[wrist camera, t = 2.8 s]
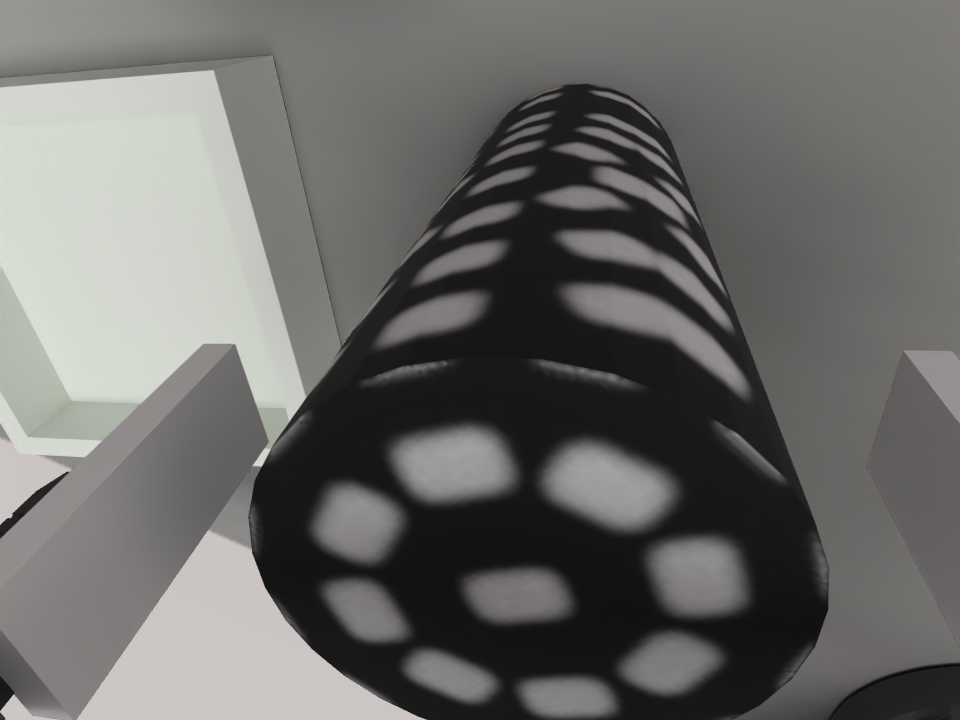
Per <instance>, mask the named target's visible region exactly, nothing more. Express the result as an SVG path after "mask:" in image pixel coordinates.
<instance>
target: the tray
mask: <svg viewBox="0 0 960 720" xmlns="http://www.w3.org/2000/svg"><path fill="white" fill-rule="evenodd" d="M203 344H235V345H236V348H237V351H238V353H239V356H240V359H241V362H242V365H243V368H244V371H245V374H246V377H247V379H248V382H249V385H250V388H251V391H252V394H253V397H254V400H255V403H256V405H257V408H258V411H259V414H260V417H261V420H262V423H263V426H264V429H265V431H266V434H267V437H268V440H269V443H268V444H267V446H266V447H265V448H264V450H263V451H262V453H261V454H260V456H259V457H258V459H257V460H256V461H255V463H254V464H253V466H262V465H263V464H264V462H265V460H266V458H267V456H268V454H269V452H270V450H271V448H272V446H273V444H274V443H275V441H276V440H277V439H278V437H279V436H280V434H281V433H282V431H283V430H284V429H285V427H286V426H287V424H288V423H289V421H290V420H291V419H292V417H293V416H294V414H295V413H296V411H297V410H298V409H299V407H300V406H301V404H302V403H303V402H304V400H305V399H306V397H307V396H308V394H309V393H310V392H311V390H312V389H313V387H314V386H315V384H316V383H317V382H318V380H319V379H320V377H321V376H322V374H323V373H324V372H325V370H326V369H327V367H328V366H329V364H330V363H331V362H332V360H333V359H334V357H335V356H336V355H337V353H338V352H339V350H340V349H341V345H340V340H339V336H338V332H337V328H336V323H335V319H334V315H333V310H332V306H331V302H330V298H329V293H328V289H327V285H326V281H325V276H324V272H323V268H322V264H321V259H320V255H319V251H318V247H317V242H316V238H315V234H314V229H313V225H312V221H311V217H310V212H309V208H308V204H307V200H306V195H305V191H304V187H303V183H302V178H301V174H300V170H299V166H298V161H297V157H296V153H295V148H294V144H293V140H292V136H291V131H290V127H289V123H288V119H287V114H286V110H285V106H284V102H283V97H282V93H281V89H280V85H279V80H278V76H277V72H276V67H275V63H274V59H273V55H268V56H256V57H244V58H232V59H221V60H209V61H197V62H185V63H173V64H161V65H150V66H138V67H126V68H114V69H102V70H90V71H79V72H67V73H55V74H43V75H31V76H19V77H8V78H0V423H1V425H2V426H3V428H4V430H5V431H6V433H7V435H8V436H9V438H10V440H11V441H12V443H13V445H14V446H15V448H16V449H17V451H18V453H19V454H36V455H55V456H73V457H86V456H87V455H88V454H89V453H90V452H91V451H92V450H93V449H94V448H95V447H96V446H97V445H98V444H99V443H101V442H102V441H103V440H104V439H105V438H106V437H107V436H108V435H109V434H110V433H111V432H112V431H113V430H114V429H115V428H116V427H117V426H118V425H119V424H120V423H121V422H122V421H123V420H124V419H126V418H127V417H128V416H129V415H130V414H131V413H132V412H133V411H134V410H135V409H136V408H137V407H138V406H139V405H140V404H141V403H142V402H143V401H144V400H145V399H146V398H147V397H148V396H149V395H151V394H152V393H153V392H154V391H155V390H156V389H157V388H158V387H159V386H160V385H161V384H162V383H163V382H164V381H165V380H166V379H167V378H168V377H169V376H170V375H171V374H172V373H173V372H174V371H176V370H177V369H178V368H179V367H180V366H181V365H182V364H183V363H184V362H185V361H186V360H187V359H188V358H189V357H190V356H191V355H192V354H193V353H194V352H195V351H196V350H197V349H198V348H199V347H200V346H202V345H203Z"/></svg>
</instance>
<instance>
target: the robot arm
mask: <svg viewBox="0 0 960 720" xmlns="http://www.w3.org/2000/svg"><path fill="white" fill-rule="evenodd" d="M268 443H269V440H268V437H267V434H266V431H265V429H264V426H263V423H262V420H261V417H260V414H259V411H258V408H257V405H256V403H255V400H254V397H253V394H252V391H251V388H250V385H249V382H248V379H247V377H246V374H245V371H244V368H243V365H242V362H241V359H240V356H239V353H238V351H237V348H236V345H235V344H203V345H202V346H200V347H199V348H198V349H197V350H196V351H195V352H194V353H193V354H192V355H191V356H190V357H189V358H188V359H187V360H186V361H185V362H184V363H183V364H182V365H181V366H180V367H179V368H178V369H177V370H176V371H174V372H173V373H172V374H171V375H170V376H169V377H168V378H167V379H166V380H165V381H164V382H163V383H162V384H161V385H160V386H159V387H158V388H157V389H156V390H155V391H154V392H153V393H152V394H151V395H149V396H148V397H147V398H146V399H145V400H144V401H143V402H142V403H141V404H140V405H139V406H138V407H137V408H136V409H135V410H134V411H133V412H132V413H131V414H130V415H129V416H128V417H127V418H126V419H124V420H123V421H122V422H121V423H120V424H119V425H118V426H117V427H116V428H115V429H114V430H113V431H112V432H111V433H110V434H109V435H108V436H107V437H106V438H105V439H104V440H103V441H102V442H101V443H99V444H98V445H97V446H96V447H95V448H94V449H93V450H92V451H91V452H90V453H89V454H88V455H87V456H86V457H85V458H84V459H83V460H82V461H81V462H80V463H79V464H78V465H77V466H76V467H75V468H73V469H72V470H71V471H70V472H66V473H64V474H63V475H61V476H60V477H58V478H56V479H55V480H53V481H52V482H50V483H48V484H47V485H45V486H44V487H42V488H40V489H39V490H37V491H36V492H35V493H34V494H33V495H32V496H31V497H30V498H28V499H27V500H26V501H25V502H24V503H23V504H22V505H21V506H20V507H19V508H18V509H17V510H16V511H15V512H14V513H13V516H12V518H7V519H6V520H5V521H4V522H3V523H2V524H1V525H0V711H1V709H2V708H3V707H4V706H5V704H6V703H7V702H8V701H9V699H10V698H11V697H12V696H13V694H14V695H15V696H16V697H17V698H18V699H19V701H20V702H21V703H22V704H23V705H24V706H25V708H26V709H27V710H28V711H29V712H30V713H31V714H32V716H39V717H46V718H53V719H59V720H77V718H78V717H79V715H80V714H81V712H82V711H83V709H84V708H85V707H86V705H87V704H88V702H89V701H90V699H91V698H92V696H93V695H94V694H95V692H96V691H97V689H98V688H99V686H100V685H101V684H102V682H103V681H104V679H105V678H106V676H107V675H108V673H109V672H110V671H111V669H112V668H113V666H114V665H115V663H116V662H117V660H118V659H119V658H120V656H121V655H122V653H123V651H124V650H125V649H126V647H127V646H128V644H129V643H130V642H131V640H132V639H133V637H134V636H135V634H136V633H137V632H138V630H139V629H140V627H141V626H142V624H143V623H144V622H145V620H146V619H147V617H148V616H149V614H150V613H151V611H152V610H153V608H154V607H155V606H156V604H157V603H158V601H159V600H160V598H161V597H162V595H163V594H164V593H165V591H166V590H167V588H168V587H169V585H170V584H171V583H172V581H173V580H174V578H175V577H176V575H177V574H178V572H179V571H180V569H181V568H182V567H183V565H184V564H185V562H186V561H187V560H188V558H189V556H190V555H191V554H192V552H193V551H194V549H195V548H196V546H197V545H198V544H199V542H200V541H201V539H202V538H203V536H204V535H205V534H206V532H207V531H208V529H209V528H210V526H211V525H212V523H213V522H214V521H215V519H216V518H217V516H218V515H219V513H220V512H221V510H222V509H223V508H224V506H225V505H226V503H227V502H228V500H229V499H230V498H231V496H232V495H233V493H234V492H235V490H236V489H237V487H238V486H239V485H240V483H241V482H242V480H243V479H244V477H245V476H246V474H247V473H248V472H249V470H250V469H251V467H252V466H253V464H254V463H255V461H256V460H257V459H258V457H259V456H260V454H261V453H262V451H263V450H264V448H265V447H266V446H267V444H268ZM867 469H868V471H869V473H870V475H871V477H872V479H873V481H874V483H875V484H876V486H877V488H878V490H879V492H880V494H881V496H882V498H883V500H884V502H885V504H886V506H887V508H888V510H889V512H890V513H891V515H892V517H893V519H894V521H895V523H896V525H897V527H898V529H899V531H900V533H901V535H902V537H903V539H904V541H905V543H906V544H907V546H908V548H909V550H910V552H911V554H912V556H913V558H914V560H915V562H916V564H917V566H918V568H919V570H920V572H921V573H922V575H923V577H924V579H925V581H926V583H927V585H928V587H929V589H930V591H931V593H932V595H933V597H934V599H935V601H936V602H937V604H938V606H939V608H940V610H941V612H942V614H943V616H944V618H945V620H946V622H947V624H948V626H949V628H950V630H951V632H952V633H953V635H954V637H955V639H956V641H957V643H958V645H959V647H960V360H959V358H958V357H957V356H956V355H955V354H954V353H953V352H952V351H908V350H904V351H903V354H902V357H901V360H900V363H899V366H898V369H897V373H896V376H895V379H894V382H893V385H892V388H891V391H890V395H889V398H888V401H887V404H886V407H885V410H884V413H883V417H882V420H881V423H880V426H879V429H878V432H877V435H876V438H875V442H874V445H873V448H872V451H871V454H870V457H869V460H868V464H867ZM0 720H5V717H4V716H3V715H2V714H1V713H0ZM831 720H960V666H956V667H943V668H934V669H927V670H921V671H916V672H911V673H907V674H903V675H899V676H896V677H892V678H889V679H886V680H884V681H881V682H879V683H876V684H874V685H872V686H869V687H867V688H865V689H864V690H862V691H860V692H858V693H857V694H855V695H853V696H852V697H851V698H849V699H848V700H847V701H846V702H844V703H843V704H842V705H841V706H840V707H839V708H838V710H837V711H836V712H835V713H834V715H833V717H832V718H831Z"/></svg>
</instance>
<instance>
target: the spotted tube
mask: <svg viewBox="0 0 960 720" xmlns="http://www.w3.org/2000/svg"><path fill="white" fill-rule="evenodd" d="M248 518H249V527H250V536H251V545H252V553H253V556H254V559H255V561H256V564H257V567H258V569H259V572H260V575H261V577H262V580H263V583H264V586H265V588H266V589H267V591H268V593H269V594H270V596H271V597H272V599H273V601H274V602H275V604H276V605H277V607H278V608H279V610H280V612H281V613H282V615H283V616H284V618H285V620H286V621H287V622H288V623H289V624H290V625H291V626H292V627H293V629H294V630H295V631H296V632H297V633H298V634H299V635H300V636H301V637H302V638H303V640H304V641H305V642H306V643H307V644H308V645H309V646H310V647H311V648H312V649H313V650H314V651H315V652H316V653H317V654H319V655H320V656H321V657H322V658H323V659H325V660H326V661H327V662H328V663H329V664H331V665H332V666H333V667H334V668H336V669H337V670H338V671H339V672H340V673H342V674H343V675H344V676H346V677H347V678H349V679H350V680H352V681H354V682H355V683H357V684H358V685H360V686H362V687H363V688H365V689H366V690H368V691H369V692H371V693H373V694H374V695H376V696H377V697H379V698H381V699H383V700H385V701H387V702H389V703H391V704H393V705H395V706H398V707H400V708H402V709H404V710H406V711H408V712H410V713H412V714H414V715H416V716H418V717H421V718H424V719H426V720H733V719H735V718H737V717H739V716H741V715H743V714H744V713H746V712H748V711H750V710H752V709H754V708H756V707H758V706H759V705H761V704H762V703H763V702H764V701H766V700H767V699H768V698H769V697H770V696H772V695H773V694H774V693H775V692H776V691H778V690H779V689H780V688H781V687H782V686H784V685H785V684H786V683H787V682H788V681H790V680H791V679H792V678H793V676H794V675H795V673H796V672H797V671H798V669H799V668H800V667H801V665H802V664H803V662H804V661H805V660H806V658H807V657H808V656H809V654H810V653H811V652H812V650H813V649H814V647H815V645H816V642H817V640H818V637H819V634H820V631H821V628H822V625H823V622H824V620H825V617H826V614H827V611H828V587H829V566H828V563H827V560H826V556H825V553H824V550H823V547H822V544H821V540H820V537H819V534H818V531H817V527H816V524H815V521H814V519H813V516H812V513H811V511H810V508H809V505H808V503H807V500H806V497H805V495H804V492H803V489H802V487H801V484H800V481H799V479H798V476H797V474H796V471H795V468H794V466H793V463H792V460H791V458H790V455H789V452H788V450H787V447H786V444H785V442H784V439H783V436H782V434H781V431H780V429H779V426H778V423H777V421H776V418H775V415H774V413H773V410H772V407H771V405H770V402H769V399H768V397H767V394H766V391H765V389H764V386H763V383H762V381H761V378H760V376H759V373H758V370H757V368H756V365H755V362H754V360H753V357H752V354H751V352H750V349H749V346H748V344H747V341H746V338H745V336H744V333H743V330H742V328H741V325H740V323H739V320H738V317H737V315H736V312H735V309H734V307H733V304H732V301H731V299H730V296H729V293H728V291H727V288H726V285H725V283H724V280H723V277H722V275H721V272H720V270H719V267H718V264H717V262H716V259H715V256H714V254H713V251H712V248H711V246H710V243H709V240H708V238H707V235H706V232H705V230H704V227H703V224H702V222H701V219H700V217H699V214H698V211H697V209H696V206H695V203H694V201H693V198H692V195H691V193H690V190H689V187H688V185H687V182H686V179H685V177H684V174H683V171H682V169H681V166H680V164H679V161H678V158H677V156H676V153H675V150H674V148H673V145H672V142H671V140H670V138H669V137H668V135H667V133H666V132H665V130H664V128H663V127H662V125H661V123H660V122H659V121H658V120H657V119H656V118H655V117H654V116H653V115H652V114H651V112H650V111H649V110H648V109H647V108H646V107H644V106H643V105H641V104H640V103H638V102H637V101H635V100H634V99H633V98H631V97H630V96H628V95H625V94H623V93H620V92H618V91H615V90H613V89H610V88H607V87H601V86H595V85H589V84H579V85H564V86H560V87H556V88H553V89H549V90H545V91H543V92H541V93H539V94H537V95H535V96H533V97H531V98H528V99H526V100H525V101H523V102H522V103H521V104H520V105H518V106H517V107H516V108H514V109H513V110H512V111H511V112H509V113H508V114H507V115H506V117H505V118H504V119H503V120H502V121H501V122H500V124H499V125H498V126H497V127H496V128H495V129H494V131H493V132H492V134H491V135H490V137H489V138H488V139H487V141H486V142H485V144H484V145H483V147H482V148H481V149H480V151H479V152H478V154H477V155H476V157H475V158H474V159H473V161H472V162H471V164H470V165H469V167H468V168H467V169H466V171H465V172H464V174H463V175H462V176H461V178H460V179H459V181H458V182H457V184H456V185H455V186H454V188H453V189H452V191H451V192H450V194H449V195H448V196H447V198H446V199H445V201H444V202H443V204H442V205H441V206H440V208H439V209H438V211H437V212H436V214H435V215H434V216H433V218H432V219H431V221H430V222H429V223H428V225H427V226H426V228H425V229H424V231H423V232H422V233H421V235H420V236H419V238H418V239H417V241H416V242H415V243H414V245H413V246H412V248H411V249H410V251H409V252H408V253H407V255H406V256H405V258H404V259H403V261H402V262H401V263H400V265H399V266H398V268H397V269H396V270H395V272H394V273H393V275H392V276H391V278H390V279H389V280H388V282H387V283H386V285H385V286H384V288H383V289H382V290H381V292H380V293H379V295H378V296H377V298H376V299H375V300H374V302H373V303H372V305H371V306H370V308H369V309H368V310H367V312H366V313H365V315H364V316H363V317H362V319H361V320H360V322H359V323H358V325H357V326H356V327H355V329H354V330H353V332H352V333H351V335H350V336H349V337H348V339H347V340H346V342H345V343H344V345H343V346H342V347H341V349H340V350H339V352H338V353H337V355H336V356H335V357H334V359H333V360H332V362H331V363H330V364H329V366H328V367H327V369H326V370H325V372H324V373H323V374H322V376H321V377H320V379H319V380H318V382H317V383H316V384H315V386H314V387H313V389H312V390H311V392H310V393H309V394H308V396H307V397H306V399H305V400H304V402H303V403H302V404H301V406H300V407H299V409H298V410H297V411H296V413H295V414H294V416H293V417H292V419H291V420H290V421H289V423H288V424H287V426H286V427H285V429H284V430H283V431H282V433H281V434H280V436H279V437H278V439H277V440H276V441H275V443H274V444H273V446H272V448H271V450H270V452H269V454H268V456H267V458H266V460H265V462H264V464H263V465H262V467H261V469H260V471H259V473H258V475H257V477H256V479H255V482H254V488H253V494H252V500H251V505H250V511H249V517H248Z"/></svg>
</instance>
